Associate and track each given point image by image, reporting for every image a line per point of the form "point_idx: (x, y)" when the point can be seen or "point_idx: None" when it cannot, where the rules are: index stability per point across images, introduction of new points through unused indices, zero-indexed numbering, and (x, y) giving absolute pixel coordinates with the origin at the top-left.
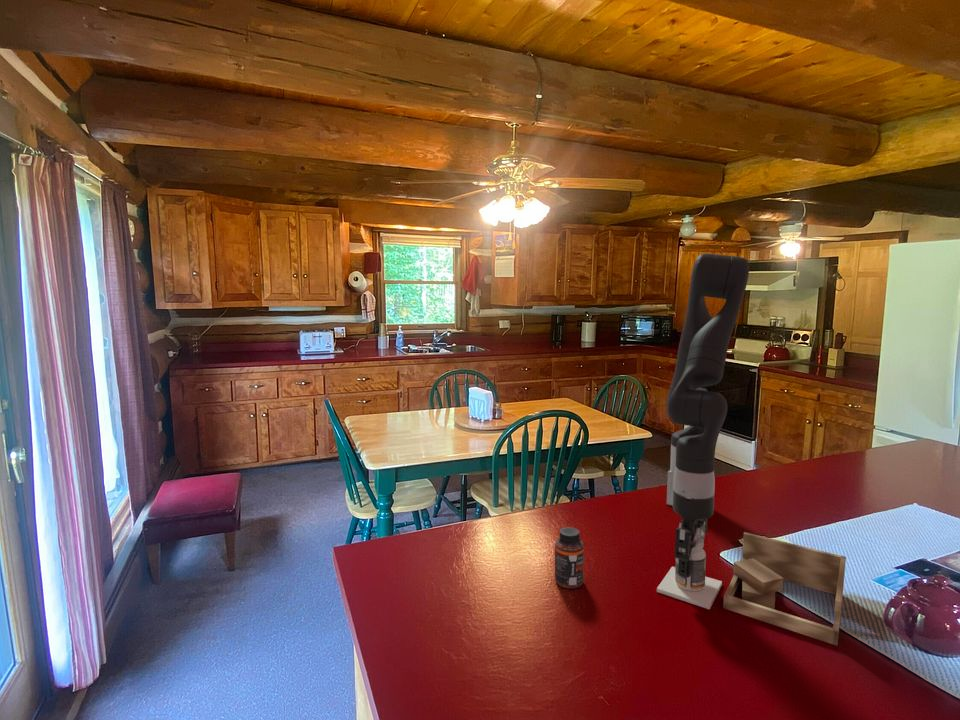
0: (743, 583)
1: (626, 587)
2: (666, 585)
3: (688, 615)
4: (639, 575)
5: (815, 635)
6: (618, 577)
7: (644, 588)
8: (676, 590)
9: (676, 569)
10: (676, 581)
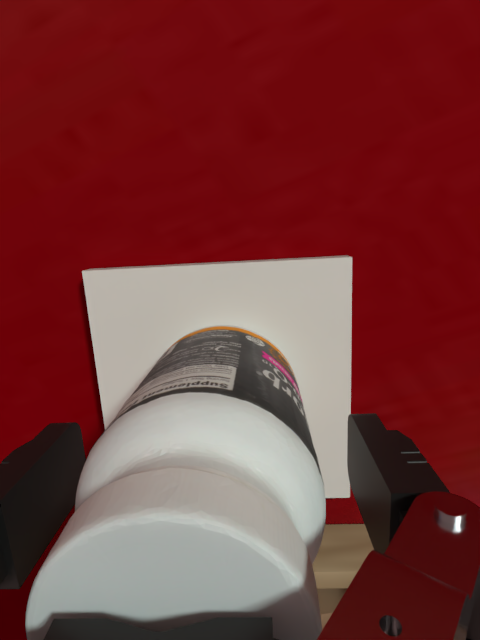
0: (322, 617)
1: (17, 119)
2: (141, 300)
3: (25, 437)
4: (176, 125)
5: None
6: (74, 27)
7: (77, 204)
8: (131, 356)
9: (155, 368)
10: (169, 347)
